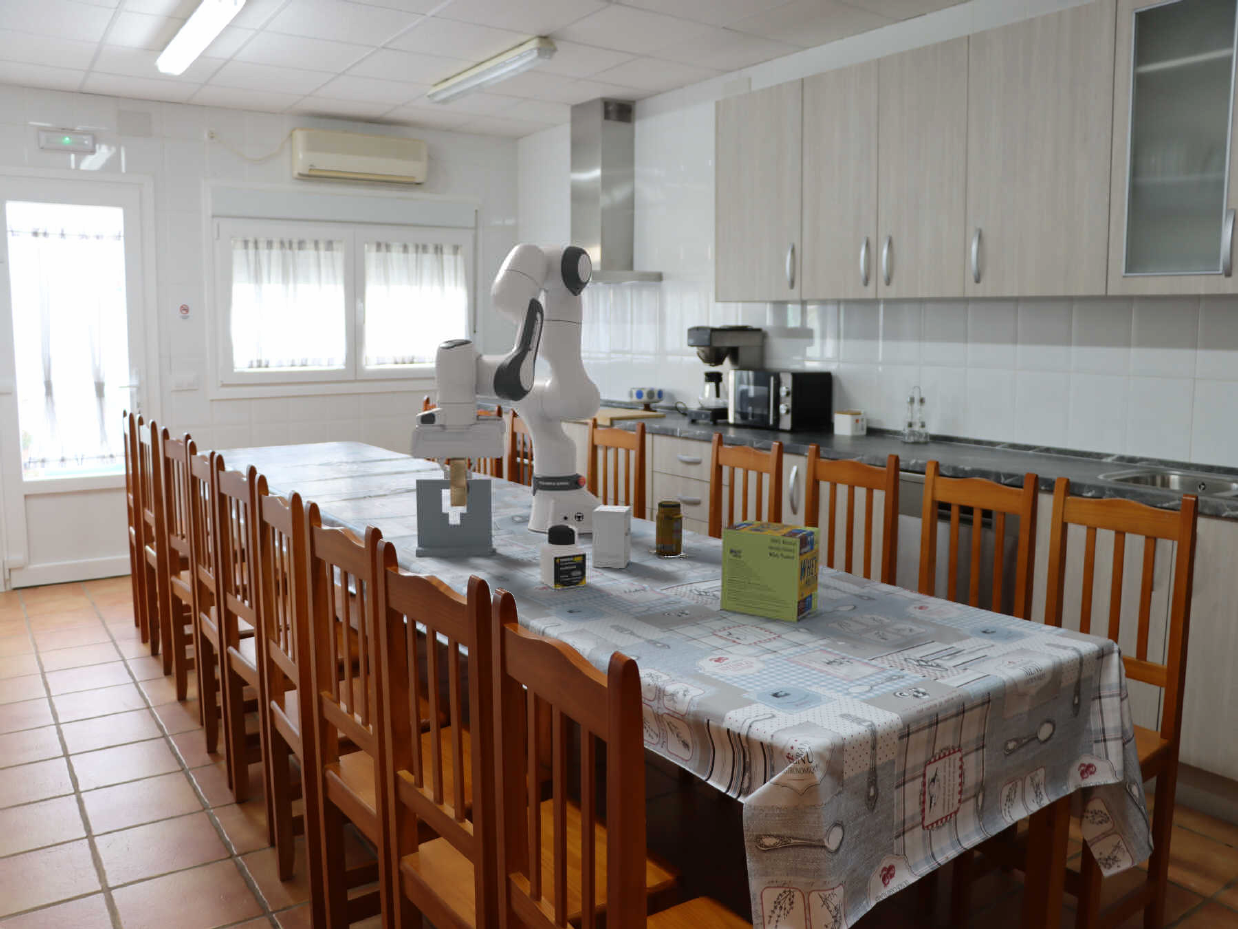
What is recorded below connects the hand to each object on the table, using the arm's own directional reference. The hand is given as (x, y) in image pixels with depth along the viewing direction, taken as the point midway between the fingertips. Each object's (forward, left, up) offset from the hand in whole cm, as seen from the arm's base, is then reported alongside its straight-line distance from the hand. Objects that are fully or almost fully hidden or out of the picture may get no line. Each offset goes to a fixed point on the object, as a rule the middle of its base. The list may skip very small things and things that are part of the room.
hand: (458, 478), depth 212 cm
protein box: (-60, +39, -19) cm, 74 cm away
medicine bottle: (-22, +19, -19) cm, 35 cm away
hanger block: (0, -2, -6) cm, 6 cm away
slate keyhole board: (+2, -11, -19) cm, 22 cm away
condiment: (-47, -6, -19) cm, 52 cm away
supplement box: (-33, +3, -19) cm, 39 cm away
